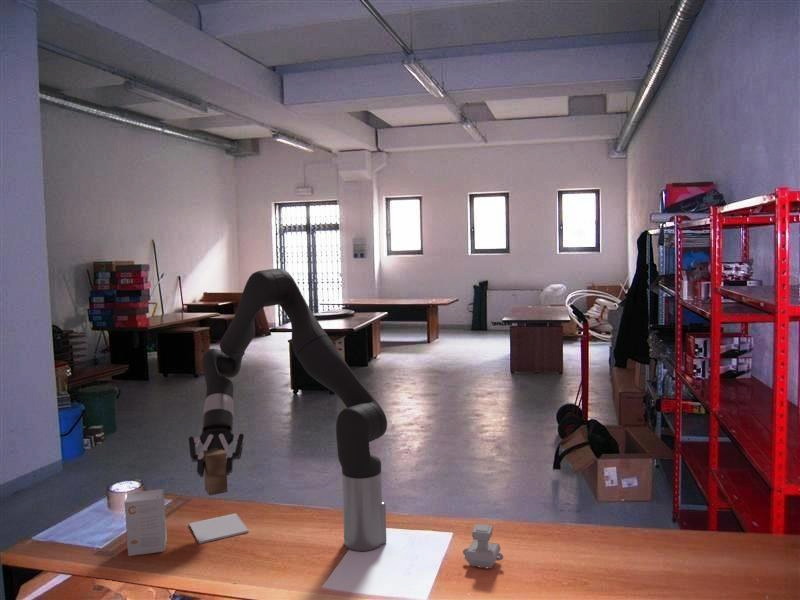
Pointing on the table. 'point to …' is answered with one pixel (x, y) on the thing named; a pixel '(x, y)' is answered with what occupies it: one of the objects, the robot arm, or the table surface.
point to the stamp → (482, 547)
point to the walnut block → (215, 471)
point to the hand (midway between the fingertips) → (214, 474)
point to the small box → (145, 522)
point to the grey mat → (218, 528)
